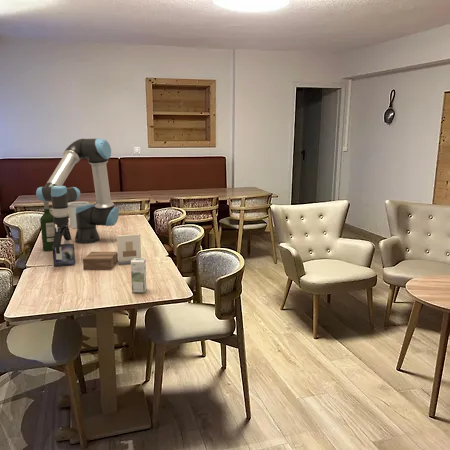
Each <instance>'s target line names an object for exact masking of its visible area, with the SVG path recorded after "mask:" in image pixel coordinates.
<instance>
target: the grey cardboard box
mask: <svg viewBox="0 0 450 450" xmlns="http://www.w3.org/2000/svg"><path fill="white" fill-rule="evenodd" d="M116 243H117V244H116V245H117V246H116V247H117V253H118V263H117V264H118V266H126V265H131V260H132V259H133V258H142V247H141V245H142V244H141V234H139V233H136V234H122V235H119V234H118V235H116Z"/></svg>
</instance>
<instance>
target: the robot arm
mask: <svg viewBox="0 0 450 450" xmlns="http://www.w3.org/2000/svg"><path fill="white" fill-rule="evenodd" d="M62 155H63V156H62V157H61V159H60V161H59V162H58V164H57V166H56V167H55V169H54V171H53V173H52V174H51V175H50V177H49V179H48V180H47V181H46V183H45V185H44V186H39V187H37V188H36V191H35V194H36V195H35V196H36V198H37V200H39V201H49V202H51V208H52V209H51V212H52V215H53V216H54V217H53V223H54V224H55V226H56V228H54V230H55V233H54V244H53V247H55V250H56V260H61V259H62V251H61V247H60V245H61V244H62V239H63V238H64V240H63V244H71V241H72V236H71V232H70V227H69V224H70V219H69V208H68V203H71V202H77V201H78V200H79V199H80V198H81V191H80V189H79V188H77V187H76V186H70V187H66V185H64V183H65V182H66V179H67V178H68V176H69V175H70V173H71V172H72V170H73V168H74V167H75V165H76V164H78V163H79V161H80V160H82V159H87V161H88V162H87V163H88V164H89V165H91V170H92V178H93V186H94V191H95V192H94V193H95V200H96V202H95V203H96V204H94V203H89V204H86V205H81V206H78V207H76V223H77V228H76V233H75V236H74V243H76V244H93V243H96V242H99V241H100V234H99V232H98V229H97V226H101V227H102V226H105V227H111V226H114V225H116V224H117V222H118V221H119V216H120V215H119V213H120V212H119V211H120V210H119V209H118V207H115V203H114V202H112V199H111V192H110V189H111V188H110V184H109V183H110V181H109V174H108V168H107V163H108V162H109V159H110V158H111V157H112V148H111V145H110V143H109V141H107V139H104V138H79V139H76V140H75V141H73V142H71V143H70V144H69V145H68V146H67V147H66V148H65V150H64V152H63V153H62Z"/></svg>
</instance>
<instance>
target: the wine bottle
mask: <svg viewBox="0 0 450 450" xmlns="http://www.w3.org/2000/svg"><path fill="white" fill-rule="evenodd" d="M49 202H50V201H43V214H42V215H41V217H40V218H39V220H40V230H41V231H40V232H41V242H42V243H41V244H42V250H43V252H53V250H52V247H53V244H54V233H55V230H54V228H57V226H56V224H54V223H53V217H54V216H53V213H52V214H51V212H50V203H49Z"/></svg>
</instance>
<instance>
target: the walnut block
mask: <svg viewBox="0 0 450 450" xmlns="http://www.w3.org/2000/svg"><path fill="white" fill-rule="evenodd" d="M117 264H118V251H91V252H90V253H88V254H87V255H86V256H84V257H83V259H82V265H83V266H82V267H83V270H84V271H112V270H113V269H114V267H115V266H116V265H117Z"/></svg>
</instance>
